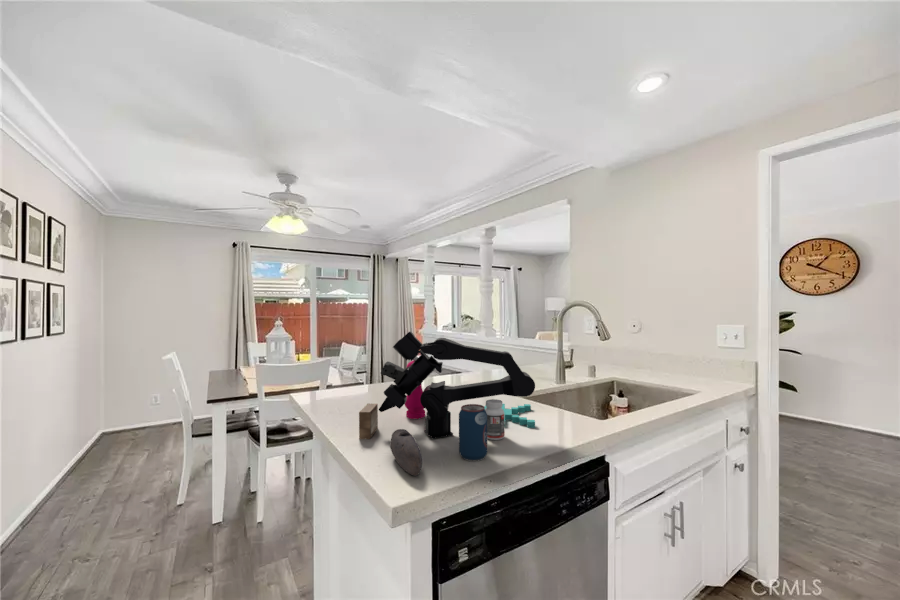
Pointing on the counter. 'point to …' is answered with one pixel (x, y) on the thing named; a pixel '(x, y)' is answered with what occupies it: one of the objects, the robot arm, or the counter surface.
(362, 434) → the walnut block
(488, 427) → the pill bottle
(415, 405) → the pepper mill
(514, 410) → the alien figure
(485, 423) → the soda can
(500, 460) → the counter surface
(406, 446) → the perforated stone tool
